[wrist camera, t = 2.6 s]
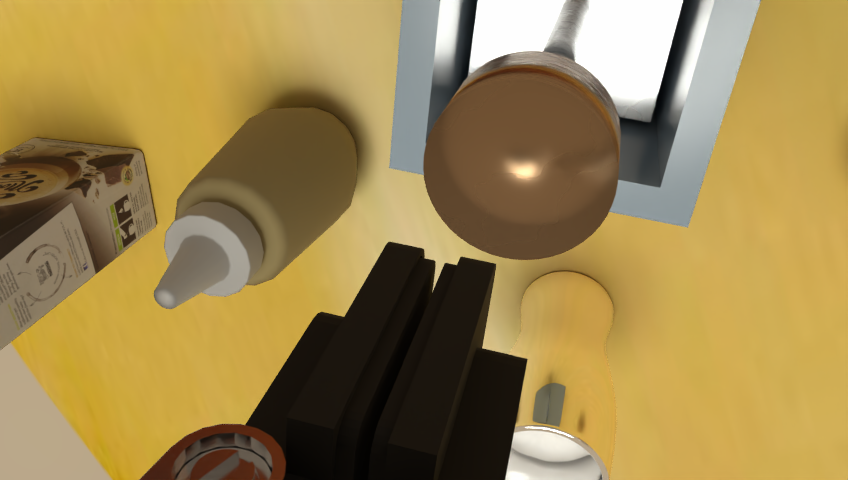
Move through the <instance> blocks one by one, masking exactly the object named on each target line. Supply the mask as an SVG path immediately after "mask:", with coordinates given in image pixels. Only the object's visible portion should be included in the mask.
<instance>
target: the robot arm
mask: <svg viewBox="0 0 848 480" xmlns="http://www.w3.org/2000/svg"><path fill="white" fill-rule="evenodd" d="M495 270H496V264H494V263H489V262H484V261H480V260H475V259H470V258H465V257H460V259H459V262H458V264H457V265H453V264H448V263H445V264H444V267H443V269H442V271H441V274H440V276H439V278H438V281H437V283H436V286H435V288H434V290H433V282H434V274H435V261H434V260H429V259H425V258H424V249H422V248H417V247H413V246H408V245H403V244H398V243H394V242H388V243H387V244H386V246H385V248H384V249H383V251H382V253H381V255H380V256H379V258H378V260H377V261H376V263H375V265H374V267H373V268H372V270H371V272H370V274H369V275H368V277H367V279H366V280H365V282H364V284H363V286H362V287H361V289H360V291H359V293H358V294H357V296H356V298H355V299H354V301H353V303H352V305H351V306H350V308H349V310H348V312H347V313H346V315H345V317H342V316H337V315H333V314H329V313H324V312H320V313H318V314H317V315H316V316H315V317H314V319H313V320H312V322H311V323H310V325H309V326H308V328H307V329H306V331H305V332H304V334H303V336H302V337H301V339H300V340H299V342H298V343H297V345H296V347H295V348H294V350H293V351H292V353H291V354H290V356H289V357H288V359H287V361H286V362H285V364H284V365H283V367H282V368H281V370H280V372H279V373H278V375H277V376H276V378H275V379H274V381H273V382H272V384H271V386H270V387H269V389H268V390H267V392H266V393H265V395H264V397H263V398H262V400H261V401H260V403H259V404H258V406H257V407H256V409H255V411H254V412H253V414H252V415H251V417H250V418H249V420H248V422H247V423H246V425H242V424H219V425H215V426H210V427H205V428H202V429H200V430H198V431H195V432H193V433H191V434H189V435H186V436H185V437H184V438H182V439H181V440H180V441H178V442H177V443H176V444H175V445H173V446H172V447H171V448H170V449H169V450H168V451H167V452H166V453H165V454H164V455H163V456H162V457H161V458H160V459H159V460H158V461H157V462H156V463H155V464H154V465H153V466H152V467H151V468H150V469H149V470H148V471H147V472H146V473H145V474H144V475H143V476H142V478H141V479H140V480H505V478H506V473H507V467H508V462H509V457H510V451H511V446H512V441H513V435H514V430H515V425H516V419H517V414H518V409H519V403H520V398H521V393H522V387H523V382H524V377H525V371H526V366H527V360H528V359H526V358H522V357H517V356H513V355H509V354H504V353H500V352H495V351H491V350H487V349H482V345H483V340H484V334H485V328H486V322H487V317H488V311H489V305H490V299H491V294H492V288H493V282H494V276H495ZM432 290H433V293H432Z"/></svg>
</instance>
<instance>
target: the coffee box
mask: <svg viewBox="0 0 848 480" xmlns="http://www.w3.org/2000/svg"><path fill="white" fill-rule="evenodd" d="M155 226H156V220H155V215H154V209H153V204H152V199H151V193H150V188H149V183H148V177H147V172H146V166H145V161H144V156H143V153H142V152H141V151H140V150H136V149H129V148H120V147H111V146H102V145H94V144H85V143H76V142H67V141H59V140H50V139H41V138H33V139H31V140H29V141H27V142H25V143H23V144H21V145H19V146H17V147H15V148H13V149H11V150H9V151H7V152H5V153H3V154H1V155H0V350H1V349H3V348H4V347H5V346H6V345H8V344H9V343H10V342H11V341H13V340H14V339H15V338H16V337H18V336H19V335H20V334H21V333H23V332H24V331H25V330H26V329H28V328H29V327H30V326H32V325H33V324H34V323H35V322H36V321H38V320H39V319H40V318H42V317H43V316H44V315H45V314H47V313H48V312H49V311H50V310H52V309H53V308H54V307H55V306H57V305H58V304H59V303H60V302H62V301H63V300H64V299H65V298H67V297H68V296H69V295H71V294H72V293H73V292H74V291H76V290H77V289H78V288H79V287H81V286H82V285H83V284H84V283H86V282H87V281H88V280H89V279H91V278H92V277H93V276H94V275H95V274H96V273H98V272H99V271H100V270H102V269H103V268H104V267H105V266H107V265H108V264H109V263H110V262H112V261H113V260H114V259H115V258H117V257H118V256H119V255H120V254H122V253H123V252H124V251H125V250H127V249H128V248H129V247H130V246H132V245H133V244H134V243H135V242H137V241H138V240H139V239H140V238H142V237H143V236H144V235H146V234H147V233H148V232H149V231H151V230H152V229H153V228H154V227H155Z"/></svg>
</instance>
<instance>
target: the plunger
mask: <svg viewBox="0 0 848 480" xmlns="http://www.w3.org/2000/svg"><path fill="white" fill-rule="evenodd" d="M682 2H683V0H478V4H477V12H476V19H475V27H474V35H473V42H472V50H471V58H470V65H469V73H468V78H467V79H466V80H465V81H464V82H463V83H462V85H461V86H460V88H459V89H458V91H457V92H456V93H455V95H454V96H453V98H452V99H451V101H450V102H449V104H448V105H447V106H446V108H445V109H444V111H443V112H442V114H441V115H440V117H439V118H438V120H437V121H436V122H435V124H434V126H433V128H432V130H431V132H430V134H429V137H428V140H427V143H426V146H425V152H424V161H423V171H424V180H425V184H426V188H427V192H428V195H429V197H430V200H431V202H432V204H433V206H434V208H435V210H436V211H437V213H438V214H439V216H440V217H441V219H442V220H443V221H444V222H445V224H446V225H447V226H448V227H449V228H450V229H451V230H452V231H453V232H454V233H455V234H457V235H458V236H459V237H460V238H461V239H463V240H464V241H466V242H467V243H469V244H470V245H472V246H474V247H476V248H478V249H480V250H482V251H484V252H487V253H489V254H492V255H496V256H499V257H503V258H509V259H519V260H532V259H541V258H547V257H551V256H555V255H558V254H561V253H563V252H566V251H568V250H570V249H572V248H574V247H575V246H577V245H579V244H580V243H582V242H583V241H585V240H586V239H587V238H588V237H589V236H591V235H592V234H593V233H594V232H595V231H596V230H597V228H598V227H599V226H600V225H601V224H602V222H603V221H604V219H605V218H606V216H607V215H608V213H609V211H610V209H611V207H612V204H613V201H614V198H615V195H616V191H617V185H618V174H619V158H620V140H621V129H620V121H619V117H623V118H629V119H634V120H640V121H646V122H650V121H651V118H652V114H653V110H654V106H655V103H656V99H657V95H658V91H659V88H660V84H661V80H662V77H663V73H664V69H665V65H666V62H667V58H668V54H669V50H670V47H671V43H672V39H673V36H674V32H675V28H676V24H677V21H678V17H679V13H680V10H681V6H682Z"/></svg>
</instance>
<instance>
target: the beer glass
mask: <svg viewBox="0 0 848 480" xmlns="http://www.w3.org/2000/svg"><path fill="white" fill-rule="evenodd" d="M613 318H614V309H613V304H612V301H611V299H610V297H609V295H608V293H607V292H606V290H605V289H604V288H603V287H602V286H601V285H600V284H599V283H598V282H596V281H595V280H593V279H592V278H590V277H588V276H585V275H583V274H580V273H575V272H569V271H559V272H553V273H549V274H546V275H543V276H541V277H539V278H538V279H536V280H535V281H534V282H532V283H531V284H530V286H529V287H528V288H527V289H526V291H525V293H524V295H523V297H522V301H521V331H520V334H519V336H518V338H517V340H516V342H515V344H514V346H513V347H512V349H511V351H510V352H509V355H513V356H517V357H522V358H526V359H528V360H527V366H526V371H525V377H524V382H523V387H522V393H521V398H520V403H519V409H518V414H517V419H516V425H515V430H514V435H513V441H512V446H511V451H510V457H509V462H508V467H507V473H506V478H505V480H610V474H611V468H612V462H613V456H614V449H615V439H616V400H615V393H614V386H613V382H612V377H611V372H610V368H609V364H608V360H607V355H606V349H605V344H606V339H607V337H608V334H609V332H610V329H611V326H612V323H613Z"/></svg>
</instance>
